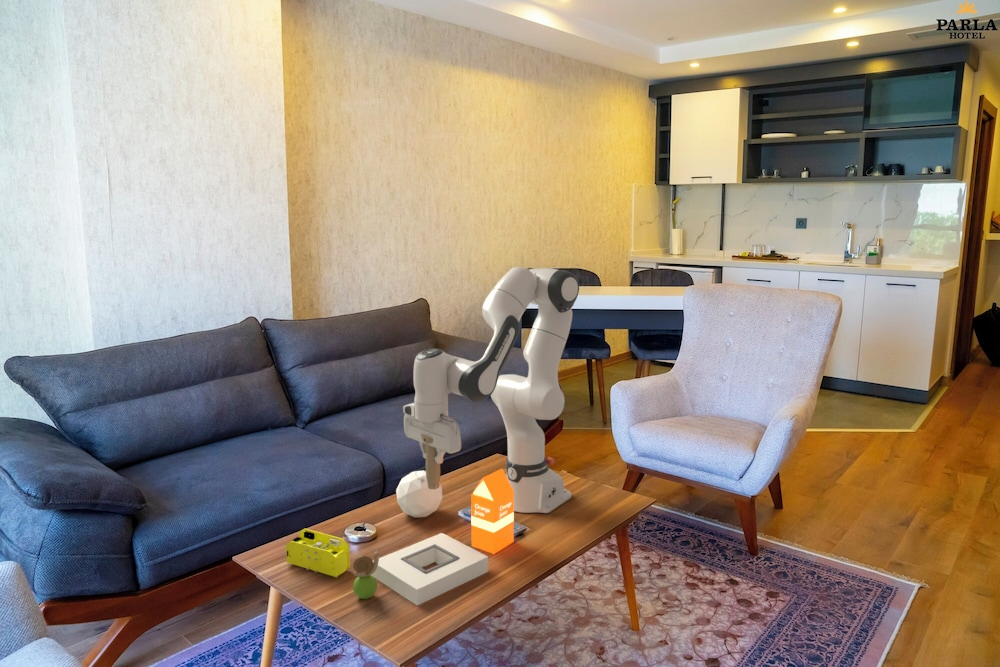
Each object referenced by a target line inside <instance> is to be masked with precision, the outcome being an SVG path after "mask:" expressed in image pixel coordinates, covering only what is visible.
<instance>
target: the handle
mask: <svg viewBox="0 0 1000 667" xmlns="http://www.w3.org/2000/svg"><path fill="white" fill-rule="evenodd" d="M421 438H422V440H423V441H424V442H425V443H426V458H425V471H426V479H427V482H428V488H429V489H437V488H439V483H441V463H440V464H438V463H436V462H435V459H434V457H435V456H437V454H438V452H437V451H436V448H434V447H432V446H429V445H428V444H429V443H433V438H430V437H428V436H425V435H422V434H421Z"/></svg>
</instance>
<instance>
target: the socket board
mask: <svg viewBox="0 0 1000 667" xmlns="http://www.w3.org/2000/svg"><path fill="white" fill-rule="evenodd" d="M372 561H373V562H374V560H372ZM433 563H435V564H437V565H435V566H432V567H430V568H428V569H425V568H424V567H427V566H429V565H431V564H433ZM487 573H489V556H487V555H486V554H484V553H482V552H480V551H478V550H476V549H474V548H472V547H470V546H468V545H466V544H465V543H463V542H460V541H459V540H457V539H455V538H452V537H451V536H450V535H447V534H445V533H443V532H440V533H438V534H435V535H433V536H431V537H428V538H425V539H424V540H421V541H418V542H415V543H413V544H411V545H408V546H406V547H403V548H400V549H398V550H396V551H393V552H391V553H389V554H386V555H384V556H382V557H381V556H380V557H379V562H378V566H377V569H376V570H375V572H374V573H373V574H371V576H373V577H374V578H375V580H376V581H378V582H380V583H382V584H383V585H384V586H386V587H388V588H389V589H391V590H393V591H394V592H395V593H397V594H398V595H399V596H402V597H403V598H404V599H406V600H407V601H409V602H411V603H412V604H414V605H415V606H419V605H422V604H424V603H426V602H429V601H430V600H432V599H434V598H436V597H438V596H441V595H443V594H444V593H446V592H448V591H451V590H453V589H455V588H457V587H459V586H462V585H464V584H465V583H468V582H470V581H472V580H474V579H476V578H478V577H481V576H482V575H484V574H487Z"/></svg>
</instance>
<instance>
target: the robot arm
mask: <svg viewBox="0 0 1000 667" xmlns="http://www.w3.org/2000/svg"><path fill="white" fill-rule="evenodd" d="M579 291H580V285H579V280H578V278H577V276H576V275H575V274H574V273H572V272H571V271H568V270H565V269H556V268H550V267H543V268H542V267H541V268H540V267H538V268H533V267H528V268H526V267H524V266H523V267H522V266H514V267H512V268H510V269H509V270H508V271H507V272H506V273H505V274H504V275H503V276H502V277H501V278H499V280H498V281H497V283H496V284H495V285H494V286H493V288H492V289H491V291H490V292H489V293H488V295H487V296H486V298H485V299H484V301H483V304H482V307H481V312H482V317H483V319H484V321H485V322H486V323H487V326H489V327H490V328H491V330H493V335H492V338H491V341H490V342H489V344H488V346H487V348H486V350H485V352H484V353H483V356H482V357H481V358H480V359H479V360H477V361H475V360H474V361H473V360H469V359H466V358H462V357H458V356H455V355H451V354H450V353H449V354H448V353H446V352H445V351H444V350H443V349H440V348H429V349H424V350H422V351H420V352H419V353H417V354H416V356H415V359H414V361H413V362H414V363H413V374H412V375H413V378H412V379H413V387H414V390H415V391H414V392H415V395H414V399H413V400H414V401H413V402H411V403H408V404H405V405H403V407H402V411H403V412H402V413H403V414H404V415H403V430H404V435H405V436H406V438H409V439H412V440H414V441H417V442H418V443H419V447H420V450H421V452H422V458H424V459H426V443H425V442H424V441H423V440H422V438H421V434H422V435H425V436H428V437H430V438H433V443H429V444H428V445H429V446H432V447H434V448H436V451H437V452H438V454H437V456H435V457H434V459H435V462H436V463H438V464H440V465H441V464H443V462H444V456H445V454H446V453H448V454H455V453H457V452H460V450H461V449H462V439H461V436H462V435H461V430H460V427H459V424H458V422H457V421H456V420H455V418H454V417H451V416H449V396H448V395H449V394H455V395H458V396H462V397H464V398H466V399H468V400H469V401H471V402H475V403H479V402H480V403H481V402H484V401H486V400H487V399H488V398H491V400H492V402H493V403H494V404H495V406H496V407H497V408H498V410H499V413H500V414H501V417H502V420H503V423H504V426H505V430H506V431H505V432H506V437H507V457H506V462H505V467H506V468H505V471H506V473H505V475H506V477H507V479H508V481H509V483H510V485H511V487H512V489H513V491H514V512H517V513H525V514H526V513H527V514H529V513H543V514H547V513H550V512H552V511H553V510H555V509H556V508H558V507H559V506H561V505H562V504H564V503H565V502H567V501H568V500H570V499H571V498H572V497H573V496H572V493H571V491H570V490H567V489H566V488H565V484H564V480H563V478H562V477H561V476H560V475H559V474H558V473H557V472H555V471H553V470H552V469H551V468H549V465H551V466H552V465H554V463H555V460H556V459H555V458H553V457H551V456H548V457H546V456H545V451H546V448H545V447H546V446H545V444H546V438H545V436H546V435H545V432H544V431H543V429H542V427H541V426H540V425H539V423H538V422H537V420H540V421H542V420H543V421H552V420H555V419H557V418H558V417H559V416H560V415H561V414H562V412H563V410H564V407H565V395H564V393H563V391H562V389H561V387H560V385H559V384H560V383H559V374H558V372H559V365H560V362H561V358H562V355H563V352H564V349H565V347H566V343H567V340H568V338H569V334H570V330H571V326H572V321H573V313H574V312H573V310H572V308H573V306H574V304H575V302H576V301H577V299H578V297H579V296H578V295H579V293H580V292H579ZM530 304H532V305H537V307H538V310H537V312H538V313H537V316H536V317H535V320H534V322H533V324H532V328H531V330H530V332H529V335H528V337H527V340H526V343H525V346H524V347H523V352H522V354H523V358H524V360H525V361H526V363H527V364H528V373H527V377H526V376H524V375H523V376H522V375H519V374H514V373H513V374H511V373H510V374H509V373H507V374H501V372H502V370H503V367H504V365H505V364H506V362H507V359H508V358H509V355H510V354H511V352H512V349H513V347H514V345H515V343H516V341H517V339H518V336H519V334H520V328H521V325H520V320H521V318H522V316H523V314H524V312H525V311H526V310H527V308H528V306H529V305H530Z"/></svg>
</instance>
